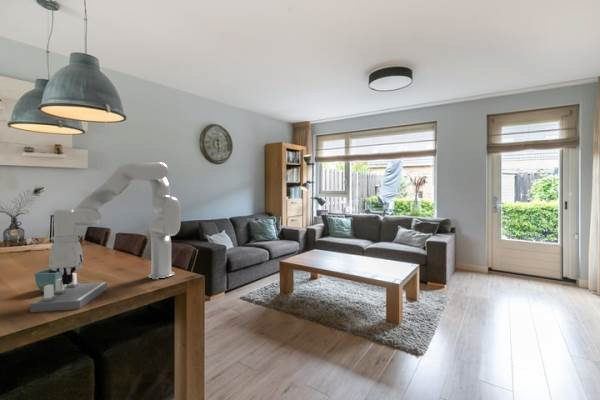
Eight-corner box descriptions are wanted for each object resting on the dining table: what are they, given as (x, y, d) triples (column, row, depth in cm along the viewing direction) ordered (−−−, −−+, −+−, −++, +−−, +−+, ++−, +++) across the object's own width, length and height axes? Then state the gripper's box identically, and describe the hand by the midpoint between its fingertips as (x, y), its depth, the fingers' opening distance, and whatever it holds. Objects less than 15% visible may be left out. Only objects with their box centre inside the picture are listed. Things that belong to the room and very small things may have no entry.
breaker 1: (47, 297, 110) (47, 284, 110) (56, 297, 111) (56, 283, 111) (41, 301, 107) (41, 287, 106) (50, 300, 107) (50, 286, 107)
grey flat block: (67, 290, 127) (67, 283, 127) (107, 288, 130) (107, 281, 130) (30, 312, 105) (30, 303, 104) (79, 308, 108) (79, 300, 108)
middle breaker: (58, 290, 118) (58, 278, 118) (66, 290, 118) (66, 277, 118) (53, 293, 114) (52, 280, 114) (61, 293, 115) (61, 280, 115)
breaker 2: (71, 284, 126) (71, 272, 126) (79, 284, 126) (78, 272, 126) (66, 287, 122) (66, 275, 122) (74, 286, 123) (74, 274, 123)
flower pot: (70, 286, 133) (70, 267, 132) (54, 293, 124) (54, 273, 124) (51, 287, 132) (50, 267, 132) (33, 293, 123) (33, 273, 123)
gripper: (38, 241, 111) (40, 287, 112) (82, 240, 114) (83, 285, 115) (50, 238, 118) (52, 281, 119) (91, 237, 122) (92, 279, 122)
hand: (67, 283), depth 117 cm, fingers closed
